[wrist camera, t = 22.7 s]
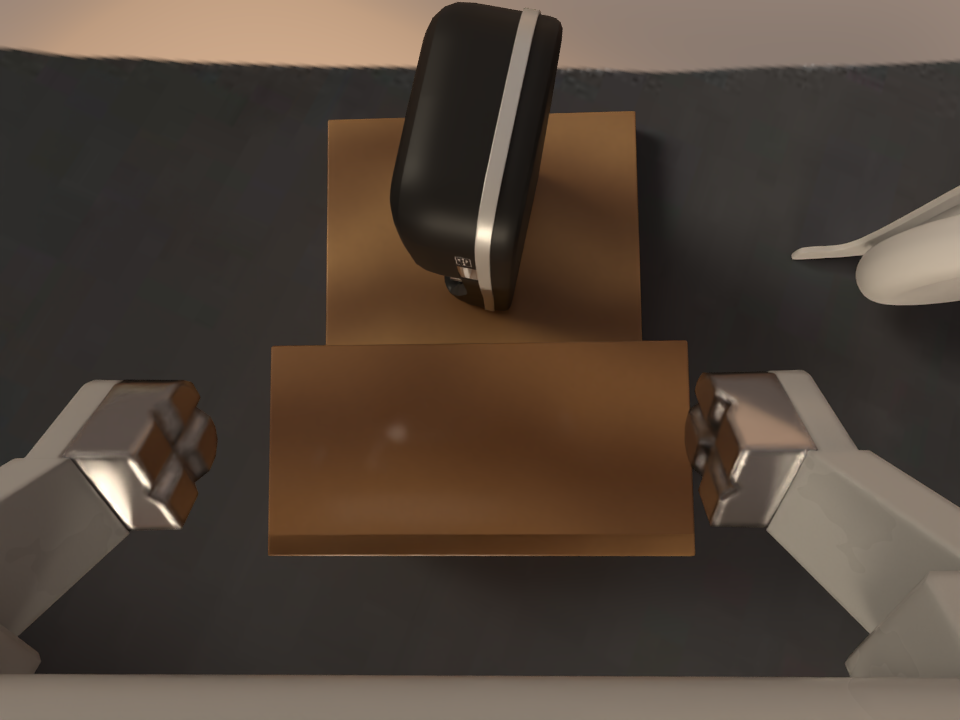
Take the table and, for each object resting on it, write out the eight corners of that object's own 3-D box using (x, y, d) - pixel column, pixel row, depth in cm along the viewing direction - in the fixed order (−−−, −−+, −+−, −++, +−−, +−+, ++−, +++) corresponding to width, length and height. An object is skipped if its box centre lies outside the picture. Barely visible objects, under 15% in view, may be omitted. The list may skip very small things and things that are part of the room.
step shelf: (639, 510, 26) (696, 556, 18) (334, 511, 26) (267, 556, 19) (628, 126, 27) (676, 21, 19) (336, 134, 27) (275, 35, 20)
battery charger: (457, 152, 26) (422, -47, 14) (540, 168, 25) (572, -21, 14) (424, 302, 25) (361, 221, 14) (508, 319, 25) (515, 252, 14)
